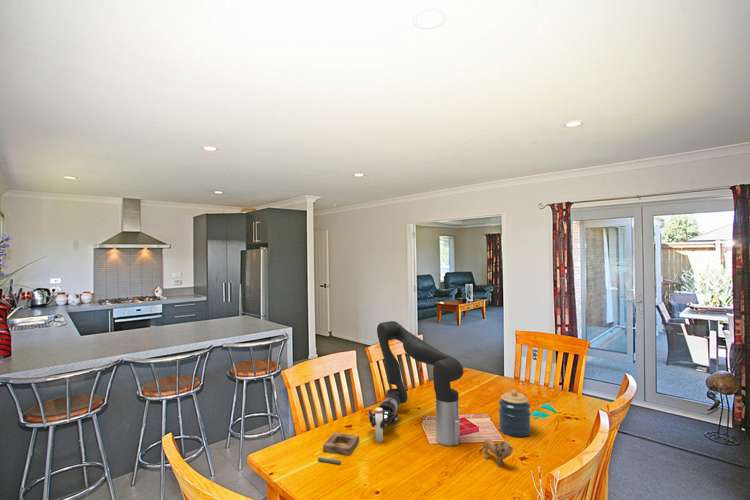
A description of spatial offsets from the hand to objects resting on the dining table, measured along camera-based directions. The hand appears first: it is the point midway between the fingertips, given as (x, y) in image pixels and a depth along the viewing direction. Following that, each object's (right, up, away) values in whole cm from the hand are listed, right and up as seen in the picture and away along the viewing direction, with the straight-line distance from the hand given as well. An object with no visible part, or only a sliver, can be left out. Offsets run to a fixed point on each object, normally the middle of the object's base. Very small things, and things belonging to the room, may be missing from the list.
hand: (377, 425), depth 155 cm
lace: (-18, -7, -14) cm, 24 cm away
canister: (+60, -8, +11) cm, 61 cm away
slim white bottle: (+1, -8, +3) cm, 8 cm away
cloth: (+82, -9, +31) cm, 88 cm away
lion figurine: (+44, -7, -13) cm, 47 cm away
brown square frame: (-14, -8, -2) cm, 16 cm away
